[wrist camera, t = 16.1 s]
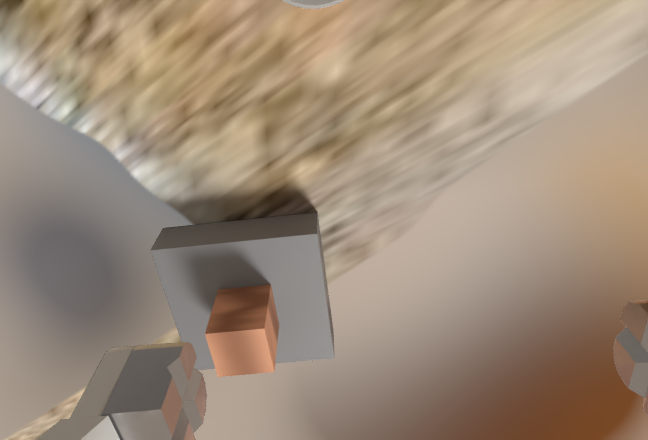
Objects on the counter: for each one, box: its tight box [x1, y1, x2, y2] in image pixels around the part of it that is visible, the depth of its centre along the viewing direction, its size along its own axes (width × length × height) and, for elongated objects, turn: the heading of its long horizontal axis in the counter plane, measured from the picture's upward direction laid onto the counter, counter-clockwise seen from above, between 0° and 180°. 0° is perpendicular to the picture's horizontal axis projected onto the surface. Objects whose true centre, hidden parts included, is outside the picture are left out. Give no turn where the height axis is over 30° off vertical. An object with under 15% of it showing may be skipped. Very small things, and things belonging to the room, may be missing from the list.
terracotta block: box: [205, 285, 279, 377], centre depth 43 cm, size 5×5×6 cm
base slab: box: [151, 212, 334, 370], centre depth 47 cm, size 15×15×4 cm
